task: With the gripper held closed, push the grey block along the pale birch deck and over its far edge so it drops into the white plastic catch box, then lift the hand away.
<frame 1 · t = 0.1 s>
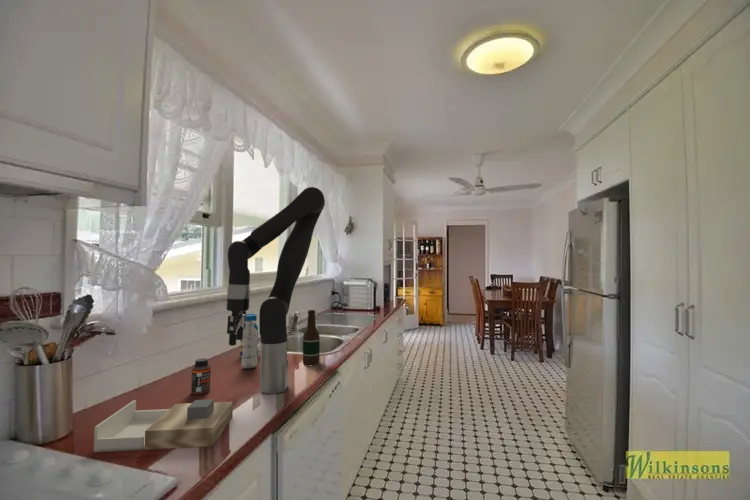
hand: (236, 342, 122), 17 cm above the countertop, tool pointing down, fingers open, 8 cm apart
beverage bottle: (248, 356, 166), on the countertop
grey block: (200, 414, 93), point 4 cm above the countertop, touching birch deck
plastic bottle: (249, 368, 147), on the countertop
supplement bottle: (200, 392, 120), on the countertop
catch box: (137, 434, 91), on the countertop
birch deck: (192, 431, 92), on the countertop
beer bottle: (311, 364, 154), on the countertop
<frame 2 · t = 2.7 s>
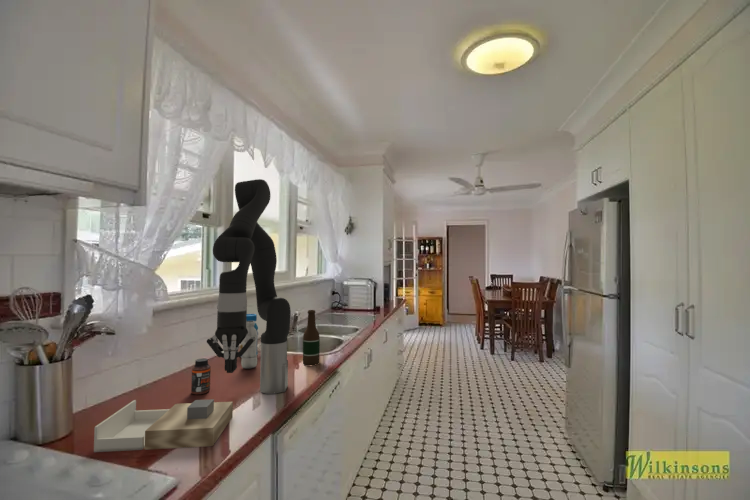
hand: (230, 372, 94), 16 cm above the countertop, tool pointing down, fingers closed
nothing on the countertop moved.
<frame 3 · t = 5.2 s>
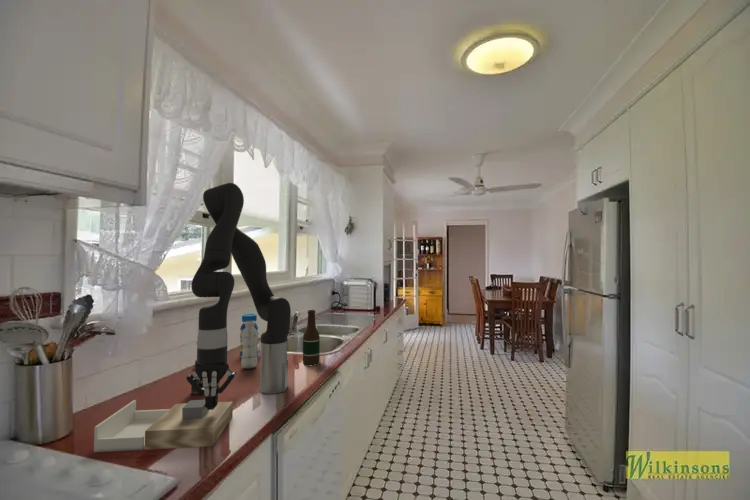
hand: (211, 408, 93), 6 cm above the countertop, tool pointing down, fingers closed
grey block: (196, 414, 93), point 4 cm above the countertop, touching birch deck, gripper
everything else where it was.
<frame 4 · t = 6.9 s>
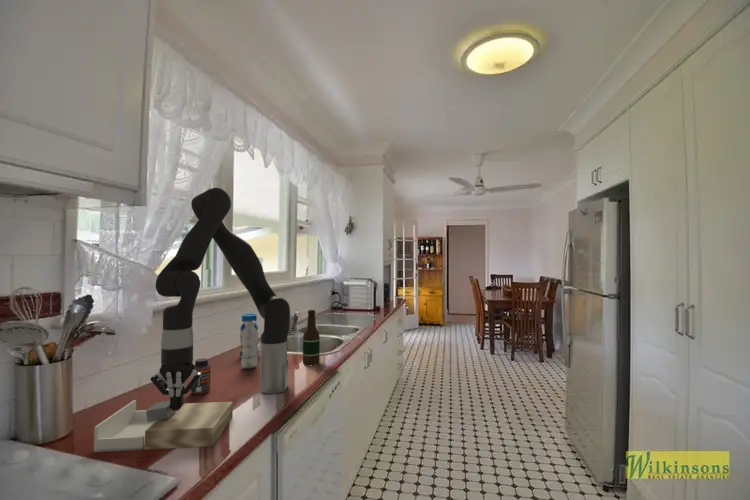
hand: (176, 409, 92), 6 cm above the countertop, tool pointing down, fingers closed
grey block: (162, 416, 92), point 5 cm above the countertop, tilted 7°, touching birch deck, gripper
everything else where it was.
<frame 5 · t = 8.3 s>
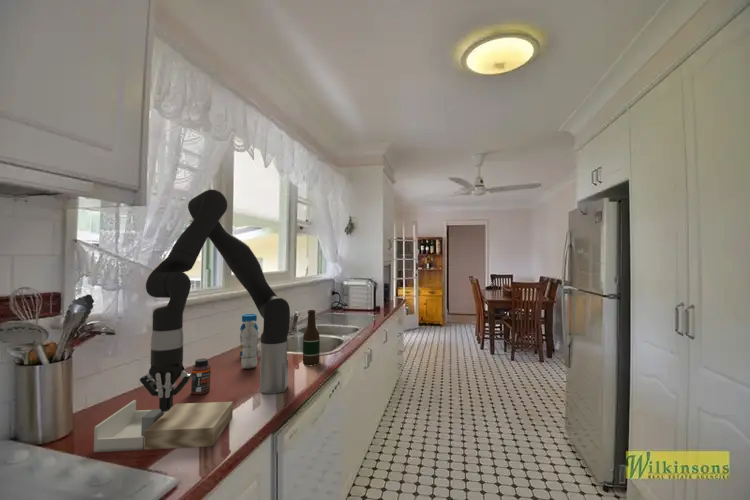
hand: (165, 410, 92), 6 cm above the countertop, tool pointing down, fingers closed
grey block: (158, 422, 91), point 3 cm above the countertop, tilted 90°, touching catch box
everything else where it was.
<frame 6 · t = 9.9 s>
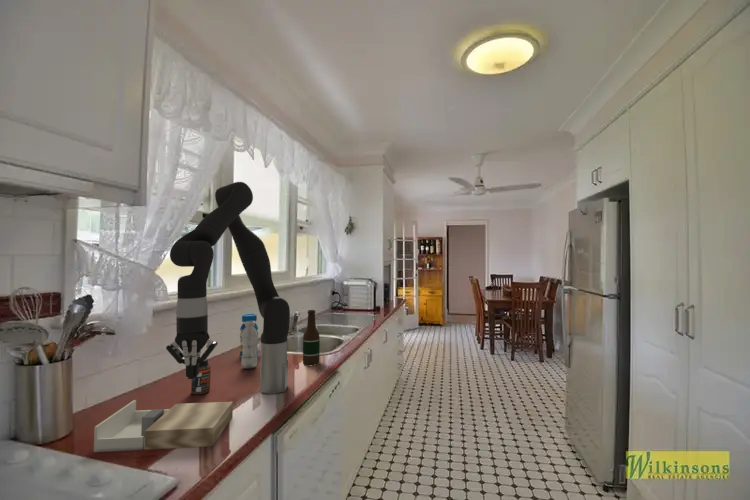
hand: (192, 378, 93), 14 cm above the countertop, tool pointing down, fingers closed
nothing on the countertop moved.
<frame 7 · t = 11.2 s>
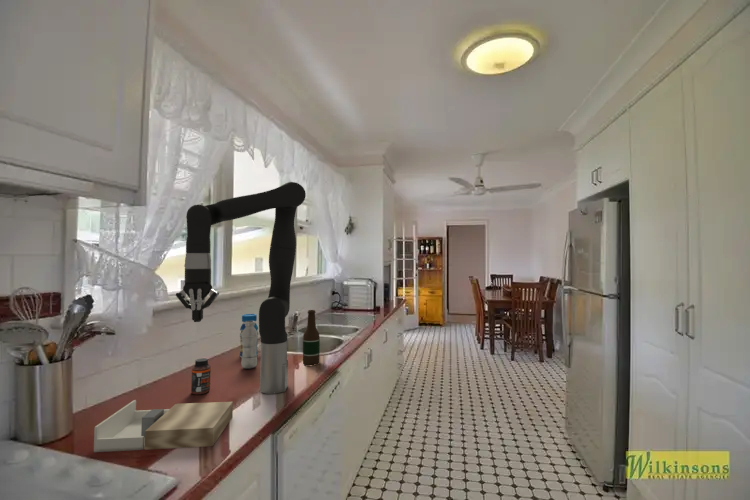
hand: (197, 321, 109), 27 cm above the countertop, tool pointing down, fingers closed
nothing on the countertop moved.
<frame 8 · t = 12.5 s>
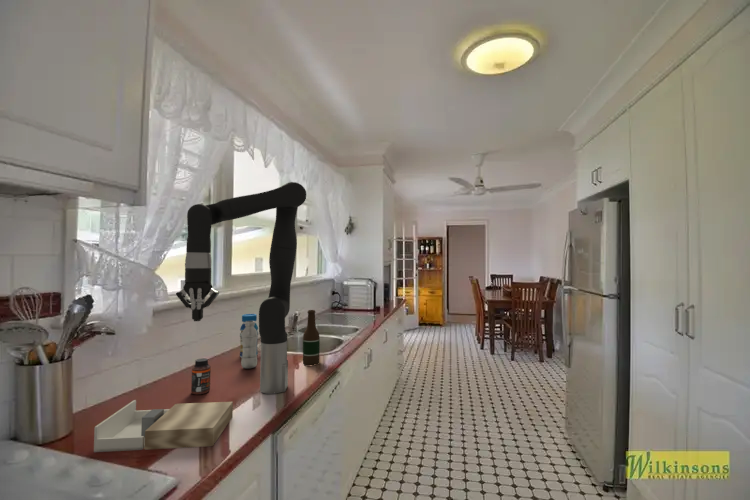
hand: (197, 320, 110), 27 cm above the countertop, tool pointing down, fingers closed
nothing on the countertop moved.
at the end: grey block inside the target area on the catch box (5.2 cm from its centre), point 3.0 cm above the catch box's base; grey block moved 10.7 cm from its start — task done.
